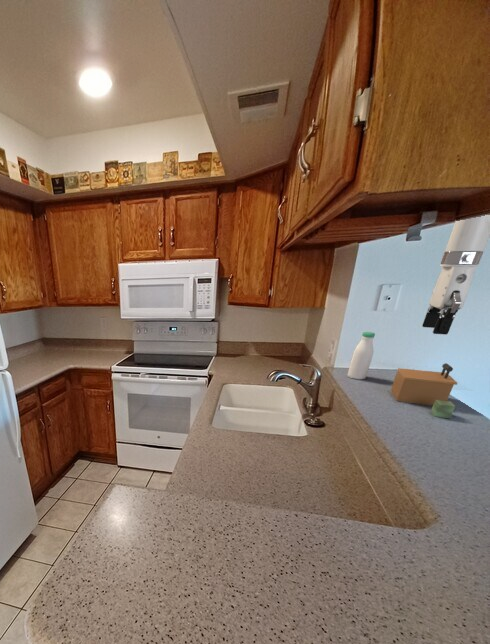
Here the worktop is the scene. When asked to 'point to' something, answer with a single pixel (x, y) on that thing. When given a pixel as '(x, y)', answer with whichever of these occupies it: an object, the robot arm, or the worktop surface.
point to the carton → (419, 390)
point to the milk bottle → (362, 357)
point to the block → (443, 408)
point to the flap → (429, 375)
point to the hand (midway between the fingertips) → (433, 330)
